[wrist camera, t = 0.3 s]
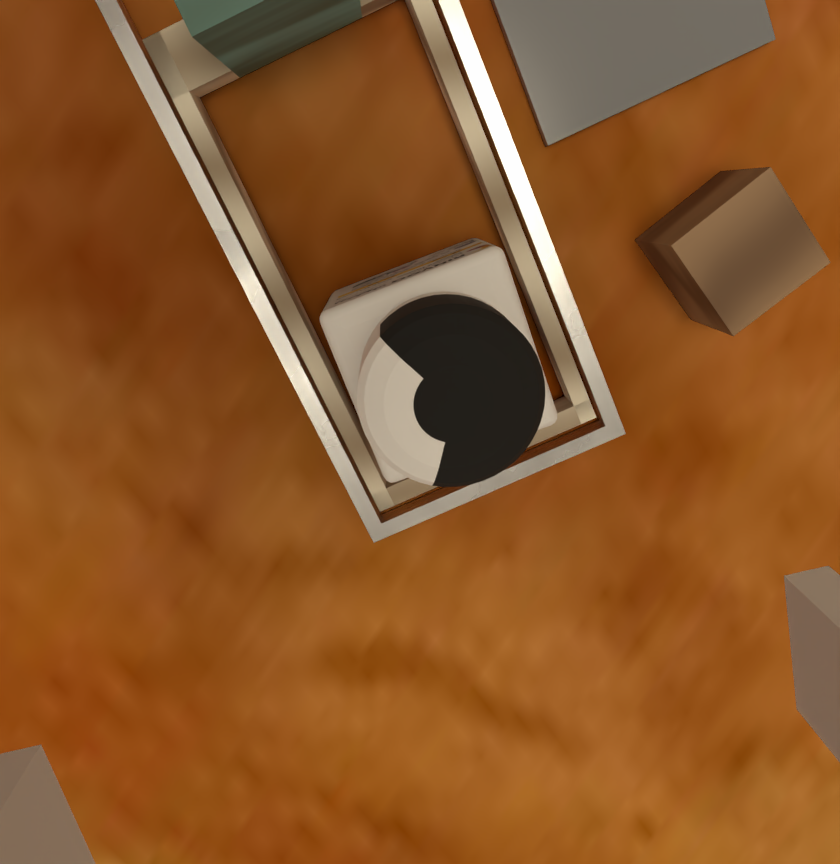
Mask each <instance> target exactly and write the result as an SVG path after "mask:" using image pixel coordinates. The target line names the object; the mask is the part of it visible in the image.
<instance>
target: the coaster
mask: <svg viewBox="0 0 840 864" xmlns="http://www.w3.org/2000/svg"><path fill="white" fill-rule="evenodd" d="M491 2H492V5H493V8H494V10H495V13H496V16H497V18H498V21H499V24H500V26H501V29H502V32H503V34H504V37H505V40H506V42H507V45H508V48H509V51H510V53H511V56H512V59H513V61H514V64H515V67H516V69H517V72H518V75H519V77H520V80H521V83H522V85H523V88H524V91H525V93H526V96H527V99H528V101H529V104H530V107H531V109H532V112H533V115H534V117H535V120H536V123H537V125H538V128H539V131H540V134H541V136H542V139H543V142H544V144H545V147H546V146H548V145H551V144H553V143H555V142H557V141H559V140H561V139H563V138H565V137H568V136H570V135H572V134H574V133H576V132H578V131H580V130H583V129H585V128H587V127H589V126H591V125H593V124H595V123H598V122H600V121H602V120H604V119H606V118H608V117H610V116H612V115H615V114H617V113H619V112H621V111H623V110H625V109H627V108H630V107H632V106H634V105H636V104H638V103H640V102H642V101H645V100H647V99H649V98H651V97H653V96H655V95H657V94H659V93H662V92H664V91H666V90H668V89H670V88H672V87H674V86H677V85H679V84H681V83H683V82H685V81H687V80H689V79H692V78H694V77H696V76H698V75H700V74H702V73H704V72H706V71H709V70H711V69H713V68H715V67H717V66H719V65H721V64H724V63H726V62H728V61H730V60H732V59H734V58H736V57H739V56H741V55H743V54H745V53H747V52H749V51H751V50H753V49H756V48H758V47H760V46H762V45H764V44H766V43H768V42H771V41H773V40H775V35H774V32H773V28H772V24H771V21H770V17H769V14H768V10H767V6H766V3H765V0H491Z"/></svg>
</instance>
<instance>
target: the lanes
mask: <svg viewBox="0 0 840 864" xmlns="http://www.w3.org/2000/svg"><path fill="white" fill-rule="evenodd" d="M95 1H96V3H97V5H98V7H99V9H100V11H101V13H102V15H103V16H104V18H105V20H106V22H107V24H108V26H109V28H110V30H111V32H112V34H113V36H114V38H115V40H116V42H117V44H118V46H119V48H120V50H121V52H122V53H123V55H124V57H125V59H126V61H127V63H128V65H129V67H130V69H131V71H132V73H133V75H134V77H135V79H136V81H137V83H138V85H139V87H140V88H141V90H142V92H143V94H144V96H145V98H146V100H147V102H148V104H149V106H150V108H151V110H152V112H153V114H154V116H155V118H156V120H157V122H158V124H159V125H160V127H161V129H162V131H163V133H164V135H165V137H166V139H167V141H168V143H169V145H170V147H171V149H172V151H173V153H174V155H175V157H176V159H177V161H178V162H179V164H180V166H181V168H182V170H183V172H184V174H185V176H186V178H187V180H188V182H189V184H190V186H191V188H192V190H193V192H194V194H195V196H196V198H197V199H198V201H199V203H200V205H201V207H202V209H203V211H204V213H205V215H206V217H207V219H208V221H209V223H210V225H211V227H212V229H213V231H214V233H215V235H216V236H217V238H218V240H219V242H220V244H221V246H222V248H223V250H224V252H225V254H226V256H227V258H228V260H229V262H230V264H231V266H232V268H233V270H234V271H235V273H236V275H237V277H238V279H239V281H240V283H241V285H242V287H243V289H244V291H245V293H246V295H247V297H248V299H249V301H250V303H251V305H252V307H253V308H254V310H255V312H256V314H257V316H258V318H259V320H260V322H261V324H262V326H263V328H264V330H265V332H266V334H267V336H268V338H269V340H270V342H271V344H272V345H273V347H274V349H275V351H276V353H277V355H278V357H279V359H280V361H281V363H282V365H283V367H284V369H285V371H286V373H287V375H288V377H289V379H290V381H291V382H292V384H293V386H294V388H295V390H296V392H297V394H298V396H299V398H300V400H301V402H302V404H303V406H304V408H305V410H306V412H307V414H308V416H309V418H310V419H311V421H312V423H313V425H314V427H315V429H316V431H317V433H318V435H319V437H320V439H321V441H322V443H323V445H324V447H325V449H326V451H327V453H328V455H329V456H330V458H331V460H332V462H333V464H334V466H335V468H336V470H337V472H338V474H339V476H340V478H341V480H342V482H343V484H344V486H345V488H346V490H347V491H348V493H349V495H350V497H351V499H352V501H353V503H354V505H355V507H356V509H357V511H358V513H359V515H360V517H361V519H362V521H363V523H364V525H365V527H366V528H367V530H368V532H369V534H370V536H371V538H372V540H373V542H376V541H379V540H381V539H383V538H386V537H388V536H390V535H393V534H395V533H397V532H400V531H402V530H404V529H407V528H409V527H411V526H413V525H416V524H418V523H420V522H423V521H425V520H427V519H430V518H432V517H434V516H437V515H439V514H441V513H444V512H446V511H448V510H450V509H453V508H455V507H457V506H460V505H462V504H464V503H467V502H469V501H471V500H474V499H476V498H478V497H480V496H483V495H485V494H487V493H490V492H492V491H494V490H497V489H499V488H501V487H504V486H506V485H508V484H511V483H513V482H515V481H517V480H520V479H522V478H524V477H527V476H529V475H531V474H534V473H536V472H538V471H541V470H543V469H545V468H547V467H550V466H552V465H554V464H557V463H559V462H561V461H564V460H566V459H568V458H571V457H573V456H575V455H578V454H580V453H582V452H584V451H587V450H589V449H591V448H594V447H596V446H598V445H601V444H603V443H605V442H608V441H610V440H612V439H614V438H617V437H619V436H621V435H624V434H626V433H625V431H624V428H623V425H622V423H621V420H620V418H619V415H618V412H617V410H616V407H615V405H614V402H613V399H612V397H611V394H610V392H609V389H608V386H607V384H606V381H605V379H604V376H603V373H602V371H601V368H600V366H599V363H598V360H597V358H596V355H595V353H594V350H593V347H592V345H591V342H590V340H589V337H588V334H587V332H586V329H585V327H584V324H583V321H582V319H581V316H580V314H579V311H578V308H577V306H576V303H575V301H574V298H573V295H572V293H571V290H570V288H569V285H568V282H567V280H566V277H565V275H564V272H563V270H562V267H561V264H560V262H559V259H558V257H557V254H556V251H555V249H554V246H553V244H552V241H551V238H550V236H549V233H548V231H547V228H546V225H545V223H544V220H543V218H542V215H541V212H540V210H539V207H538V205H537V202H536V199H535V197H534V194H533V192H532V189H531V186H530V184H529V181H528V179H527V176H526V173H525V171H524V168H523V166H522V163H521V160H520V158H519V155H518V153H517V150H516V147H515V145H514V142H513V140H512V137H511V134H510V132H509V129H508V127H507V124H506V121H505V119H504V116H503V114H502V111H501V108H500V106H499V103H498V101H497V98H496V95H495V93H494V90H493V88H492V85H491V82H490V80H489V77H488V75H487V72H486V69H485V67H484V64H483V62H482V59H481V56H480V54H479V51H478V49H477V46H476V43H475V41H474V38H473V36H472V33H471V30H470V28H469V25H468V23H467V20H466V17H465V15H464V12H463V10H462V7H461V4H460V2H459V0H434V2H435V4H436V7H437V9H438V12H439V14H440V17H441V19H442V22H443V24H444V27H445V30H446V32H447V35H448V37H449V40H450V42H451V45H452V47H453V50H454V52H455V55H456V57H457V60H458V63H459V65H460V68H461V70H462V73H463V75H464V78H465V80H466V83H467V85H468V88H469V91H470V93H471V96H472V98H473V101H474V103H475V106H476V108H477V111H478V113H479V116H480V118H481V121H482V124H483V126H484V129H485V131H486V134H487V136H488V139H489V141H490V144H491V146H492V149H493V151H494V154H495V157H496V159H497V162H498V164H499V167H500V169H501V172H502V174H503V177H504V179H505V182H506V185H507V187H508V190H509V192H510V195H511V197H512V200H513V202H514V205H515V207H516V210H517V212H518V215H519V218H520V220H521V223H522V225H523V228H524V230H525V233H526V235H527V238H528V240H529V243H530V245H531V248H532V251H533V253H534V256H535V258H536V261H537V263H538V266H539V268H540V271H541V273H542V276H543V279H544V281H545V284H546V286H547V289H548V291H549V294H550V296H551V299H552V301H553V304H554V306H555V309H556V312H557V314H558V317H559V319H560V322H561V324H562V327H563V329H564V332H565V334H566V337H567V339H568V342H569V345H570V347H571V350H572V352H573V355H574V357H575V360H576V362H577V365H578V367H579V370H580V373H581V375H582V378H583V380H584V383H585V385H586V388H587V390H588V393H589V395H590V398H591V400H592V403H593V406H594V408H595V411H596V413H597V416H598V418H599V420H597V421H595V422H593V423H590V424H588V425H586V426H584V427H581V428H579V429H577V430H574V431H572V432H570V433H568V434H565V435H563V436H561V437H558V438H556V439H554V440H551V441H549V442H547V443H545V444H542V445H540V446H538V447H535V448H533V449H531V450H528V451H526V452H524V453H523V454H522V455H521V456H520V457H519V458H518V459H517V460H516V461H515V462H514V463H512V464H511V465H510V466H509V467H507V468H506V469H505V470H503V471H502V472H500V473H498V474H497V475H495V476H493V477H491V478H489V479H486V480H484V481H481V482H478V483H475V484H471V485H466V486H459V487H444V488H441V489H439V490H437V491H434V492H432V493H430V494H427V495H425V496H423V497H421V498H418V499H416V500H414V501H411V502H409V503H407V504H405V505H402V506H400V507H398V508H395V509H393V510H391V511H388V512H386V513H384V514H382V515H381V513H380V511H379V509H378V507H377V505H376V503H375V501H374V499H373V497H372V495H371V493H370V491H369V489H368V487H367V485H366V483H365V481H364V479H363V477H362V475H361V473H360V471H359V469H358V467H357V465H356V463H355V461H354V459H353V457H352V455H351V453H350V451H349V449H348V447H347V445H346V444H345V442H344V440H343V438H342V436H341V434H340V432H339V430H338V428H337V426H336V424H335V422H334V420H333V418H332V416H331V414H330V412H329V410H328V408H327V406H326V404H325V402H324V400H323V398H322V396H321V394H320V392H319V390H318V388H317V386H316V384H315V382H314V380H313V378H312V376H311V374H310V372H309V370H308V368H307V366H306V364H305V362H304V360H303V358H302V356H301V354H300V352H299V350H298V348H297V346H296V344H295V342H294V340H293V338H292V336H291V334H290V332H289V330H288V328H287V326H286V325H285V323H284V321H283V319H282V317H281V315H280V313H279V311H278V309H277V307H276V305H275V303H274V301H273V299H272V297H271V295H270V293H269V291H268V289H267V287H266V285H265V283H264V281H263V279H262V277H261V275H260V273H259V271H258V269H257V267H256V265H255V263H254V261H253V259H252V257H251V255H250V253H249V251H248V249H247V247H246V245H245V243H244V241H243V239H242V237H241V235H240V233H239V231H238V229H237V227H236V225H235V223H234V221H233V219H232V217H231V215H230V213H229V211H228V209H227V207H226V205H225V204H224V202H223V200H222V198H221V196H220V194H219V192H218V190H217V188H216V186H215V184H214V182H213V180H212V178H211V176H210V174H209V172H208V170H207V168H206V166H205V164H204V162H203V160H202V158H201V156H200V154H199V152H198V150H197V148H196V146H195V144H194V142H193V140H192V138H191V136H190V134H189V132H188V130H187V128H186V126H185V124H184V122H183V120H182V118H181V116H180V114H179V112H178V110H177V108H176V106H175V104H174V102H173V100H172V98H171V96H170V94H169V92H168V90H167V88H166V86H165V84H164V83H163V81H162V79H161V77H160V75H159V73H158V71H157V69H156V67H155V65H154V63H153V61H152V59H151V57H150V55H149V53H148V51H147V49H146V47H145V45H144V43H143V41H142V39H141V37H140V35H139V33H138V31H137V29H136V27H135V25H134V23H133V21H132V19H131V17H130V15H129V13H128V11H127V9H126V7H125V5H124V3H123V1H122V0H95Z"/></svg>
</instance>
